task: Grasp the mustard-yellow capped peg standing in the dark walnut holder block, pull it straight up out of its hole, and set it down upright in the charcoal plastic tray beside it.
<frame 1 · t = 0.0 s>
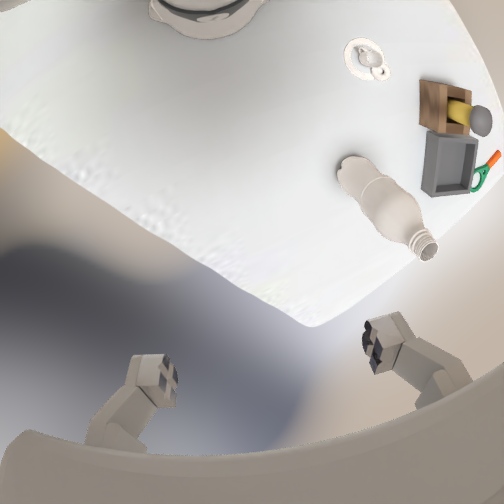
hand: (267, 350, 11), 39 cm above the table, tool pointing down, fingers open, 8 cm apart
holder: (436, 104, 39), on the table
peg: (458, 111, 33), in the holder
tray: (445, 160, 46), on the table
water bottle: (350, 170, 47), on the table
teacup and saucer: (361, 74, 37), on the table
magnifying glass: (482, 168, 48), on the table
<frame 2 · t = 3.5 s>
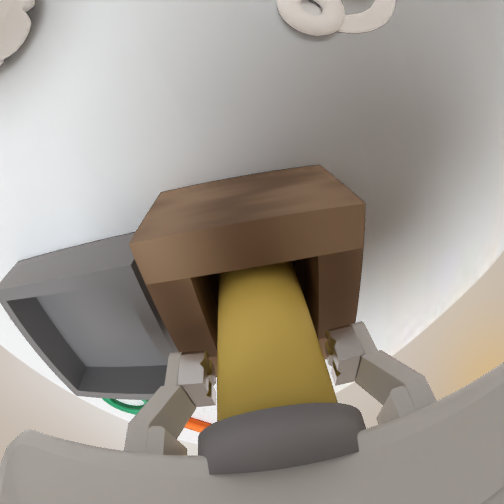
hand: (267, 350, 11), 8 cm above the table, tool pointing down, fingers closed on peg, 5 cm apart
holder: (252, 246, 17), on the table
peg: (264, 325, 12), in the holder, touching gripper
tray: (106, 316, 20), on the table
water bottle: (10, 30, 7), on the table
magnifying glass: (158, 405, 29), on the table
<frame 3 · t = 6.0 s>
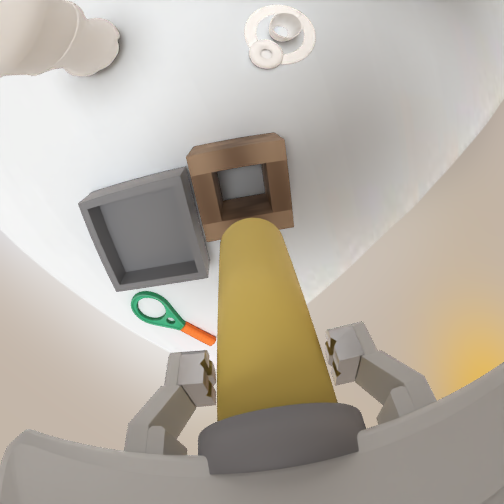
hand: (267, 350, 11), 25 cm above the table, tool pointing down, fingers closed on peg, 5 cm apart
holder: (240, 176, 32), on the table
peg: (264, 325, 12), point 23 cm above the table, touching gripper
tray: (149, 226, 34), on the table
water bottle: (99, 50, 22), on the table
teacup and saucer: (252, 32, 23), on the table
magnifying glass: (175, 316, 43), on the table
when the fingers open (11 cm above the table, at t = 8.7 s): peg drops 2 cm, resting on tray.
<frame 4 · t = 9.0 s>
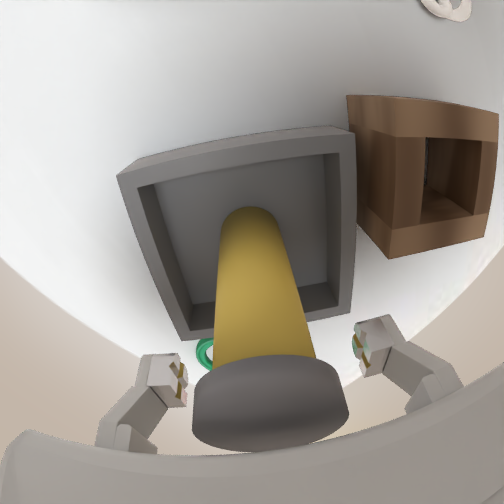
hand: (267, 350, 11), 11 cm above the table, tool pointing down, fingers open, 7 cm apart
holder: (403, 155, 18), on the table
peg: (257, 300, 13), in the tray, point 8 cm above the table
tray: (248, 226, 20), on the table
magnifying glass: (258, 361, 29), on the table
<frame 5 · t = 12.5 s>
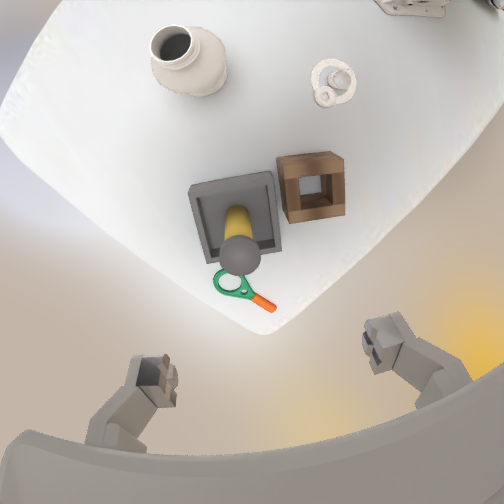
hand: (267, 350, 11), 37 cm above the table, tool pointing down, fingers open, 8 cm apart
holder: (306, 180, 45), on the table
peg: (238, 234, 41), in the tray, point 8 cm above the table
tray: (236, 213, 47), on the table
water bottle: (204, 75, 35), on the table
teacup and saucer: (314, 78, 37), on the table
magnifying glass: (246, 289, 57), on the table
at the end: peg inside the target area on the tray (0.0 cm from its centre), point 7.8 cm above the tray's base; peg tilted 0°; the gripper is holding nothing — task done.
